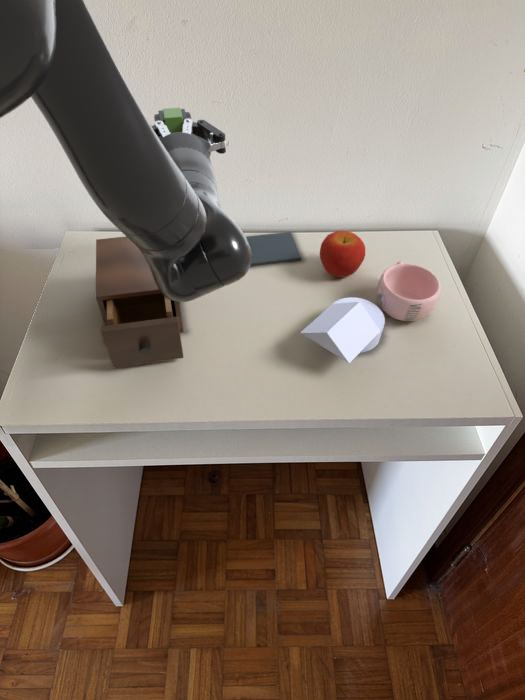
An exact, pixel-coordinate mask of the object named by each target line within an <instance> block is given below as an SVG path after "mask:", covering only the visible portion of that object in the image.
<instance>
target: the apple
mask: <svg viewBox="0 0 525 700" xmlns="http://www.w3.org/2000/svg"><path fill="white" fill-rule="evenodd" d="M365 257H366V244H365V243H364V241H363V240H362V238H361V237H359V236H358V235H357V234H356V233H354V232H351V231H349V230H336V231H333V232H331V233H329V234H327V235H326V237H325V238H324V239H323V241H322V242H321V243H320V248H319V259H320V261H321V264H322V266H323V268H324V271H325V272H326V273H328V274H329V275H330V276H333V277H337V278H346V277H347V278H349V276H352V275H353V274H355V273H356V272H357V271H358V270H359V269H360V267H361V265H362V263H363V262H364V260H365Z"/></svg>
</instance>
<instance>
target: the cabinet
mask: <svg viewBox="0 0 525 700" xmlns="http://www.w3.org/2000/svg"><path fill="white" fill-rule="evenodd" d="M95 240H96V241H95V299H96V303H97V306H98V309H99V312H100V316H101V320H102V323H103V326H108V322H107V300H109V299H117V298H125V297H134V296H142V295H150V294H158V293H161V292H160V290H159V289H158V287H157V285H156V283H155V281H154V278H153V276H152V273H151V270H150V267H149V265H148V263H147V261H146V259H145V257H144V256H143V254H142V253H141V251H140V250H139V248H138V247H137V246H136V245H135V244H134V243H133V242H132V241H131V240H130V239H129V238H128V237H126V236H116V237H107V238H98V239H95ZM171 303H172V311H173V317H178V324H179V330H180V333H184V324H183V317H182V309H181V302H176V301H172V300H171Z"/></svg>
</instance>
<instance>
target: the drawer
mask: <svg viewBox="0 0 525 700" xmlns="http://www.w3.org/2000/svg"><path fill="white" fill-rule="evenodd" d="M107 322H108V326H105V325H102V326H101V335H102V338H103V341H104V346H105V348H106V350H107V354H108V357H109V360H110V363H111V366H112V368H113V369H115V368H122V367H129V366H137V365H143V364H149V363H158V362H164V361H171V360H172V361H173V360H178V359H184V350H183V346H182V345H183V344H182V336H181V332H180V330H179V324H178V317H173V311H172V303H171V300H170V299H168V298H166V297H165V296H164V295H163V294H162V293H158V294H150V295H142V296H134V297H125V298H117V299H109V300H107Z"/></svg>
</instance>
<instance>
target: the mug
mask: <svg viewBox="0 0 525 700" xmlns="http://www.w3.org/2000/svg"><path fill="white" fill-rule="evenodd" d="M441 285H442V284H441V283H440V280H439V279H438V277H437V276H436V274H435V273H433V272H432V271H431V270H429V269H428V268H426V267H424V266H421V265H420V264H419V265H418V264H415V263H404V262H403V261H401V260H399V261H397V262H396V264H393V265H390V266H389V267H387V268H386V269H385V270H384V271H383V272H382V273H381V275H380V277H379V280H378V283H377V287H376V288H377V291H376V293H377V294H376V295H377V299H378V302H379V306H380V307H381V309H382V310H383V312H385V314H387V315H388V316H390V317H391V318H393V319H394V320H395V319H396V320H397V321H402V322H415V321H419V320H421V319H423V318H425V317H426V316H427V315H429V314H430V313H431V312H432V311H433V310H434V309H435V307H436V306H437V304H438V302H439V300H440V297H441V292H442V286H441Z"/></svg>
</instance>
